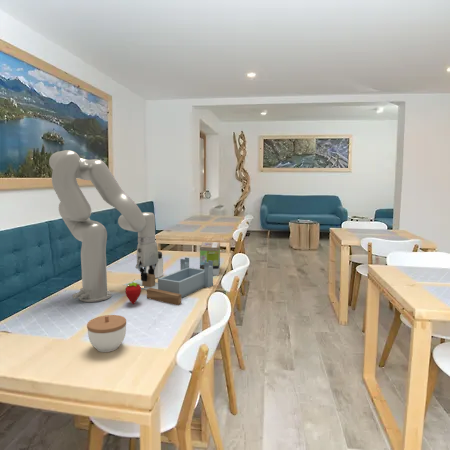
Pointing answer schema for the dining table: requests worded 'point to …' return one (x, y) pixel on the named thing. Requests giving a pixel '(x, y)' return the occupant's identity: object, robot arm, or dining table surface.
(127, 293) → the strawberry
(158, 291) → the brown block
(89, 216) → the robot arm
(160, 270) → the jar
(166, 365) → the dining table surface
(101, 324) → the lidded jar
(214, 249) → the tea box
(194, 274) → the toolbox
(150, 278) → the lid
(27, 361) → the dining table surface
